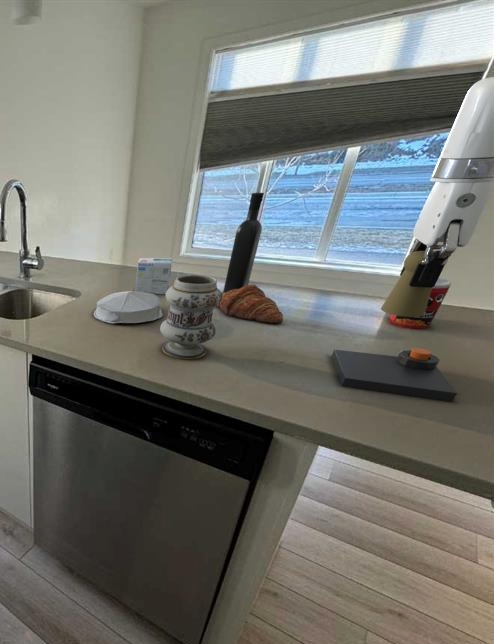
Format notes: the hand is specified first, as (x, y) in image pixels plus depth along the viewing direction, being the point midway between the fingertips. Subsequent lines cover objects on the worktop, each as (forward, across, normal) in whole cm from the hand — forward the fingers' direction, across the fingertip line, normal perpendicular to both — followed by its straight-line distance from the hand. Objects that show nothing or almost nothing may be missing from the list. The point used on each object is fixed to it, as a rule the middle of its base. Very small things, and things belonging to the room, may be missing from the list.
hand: (416, 280), depth 74 cm
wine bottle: (+20, +48, +26) cm, 59 cm away
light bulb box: (+20, +45, +51) cm, 71 cm away
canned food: (+20, +34, -13) cm, 42 cm away
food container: (+20, +21, +54) cm, 61 cm away
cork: (+6, 0, 0) cm, 6 cm away
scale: (+20, 0, -2) cm, 20 cm away
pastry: (+20, +31, +23) cm, 44 cm away
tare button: (+17, +5, -7) cm, 19 cm away
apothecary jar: (+20, 0, +36) cm, 41 cm away
